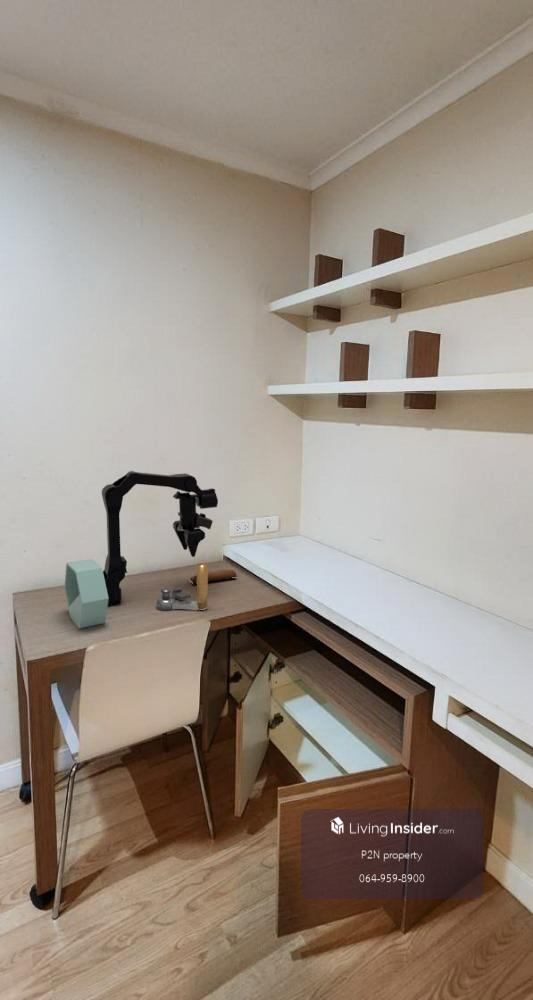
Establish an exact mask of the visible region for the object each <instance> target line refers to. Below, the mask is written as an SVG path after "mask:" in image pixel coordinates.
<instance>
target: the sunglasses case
mask: <svg viewBox="0 0 533 1000" xmlns="http://www.w3.org/2000/svg"><path fill="white" fill-rule="evenodd" d="M237 576H238V575H237V572H236V571H235V570H233V569H227V568H225V569H216V570H213V571H209V570H208V583H210V582H209V581H212V582H216V581H215V580H219V581H222V580H221V579H226V580H228V579H227V578H232V577H237ZM189 578H190V577H189ZM190 580H191V581H192V582H193V584H197V574H195V575H193V576H191V578H190Z"/></svg>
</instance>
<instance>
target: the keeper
mask: <svg viewBox="0 0 533 1000" xmlns="http://www.w3.org/2000/svg"><path fill="white" fill-rule="evenodd" d="M171 596H173V597H175V600H183V601H184V600H187V599H191V598H192V594H191V593H189V592H188V591H187V590H184V589H182V588H181V587H178V586H177V587H172V588H171Z"/></svg>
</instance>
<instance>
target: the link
mask: <svg viewBox="0 0 533 1000" xmlns="http://www.w3.org/2000/svg"><path fill="white" fill-rule="evenodd" d="M208 567H209V564H208V563H204V562H203V563H197V565H196V575H197V585H196V600H184V599H183V600H175V597H173V596H172V595H170V599H168V600H163V599H162V595H161V596H158V597H157V598H156V609H157V610H160V611H163V610H167V611H172V610H174V609H198V608H199V609H204V608H206V607H207V608H208V599H209V598H208V593H209V592H208V591H209V590H208V585H209V584H208V583H209V582H208V572H209V570H208V569H209V568H208ZM171 609H172V610H171Z"/></svg>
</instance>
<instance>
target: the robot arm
mask: <svg viewBox="0 0 533 1000" xmlns="http://www.w3.org/2000/svg"><path fill="white" fill-rule="evenodd" d="M136 485H144V486H154V487H155V486H156V487H167V488H172V489H174V490H177V491H176V492H175V494H173V495H172V498H174V499H176V500H178V502H179V511H178V512H177V516H179V520H175V521H174V522H173V523H172V529H173V530H174V532H175V534H176V537H177V538H178V540H179V543H180V544H181V546H182V548H183V550H184V551H186V550H188V551H189V553H190V555H191V557H192V558H193V557H195V556H196V554H197V550H198V547H199V545H200V542H201V541H204V539H206V532H205V531H204V530H202V529H201V528H200V527H202V528H205V529H207V530H211V528H212V525H213V521H214V520H212V519H211V518H208V517H206V514H205V513H202V512H200V513H198V512H197V507H198V508H199V509H201V510H203V509H212V508H217V507H218V503H219V498H218V496H217V493H216V489H215V488H213V487H212V488H208V489H207V488H206V489H201V488H200V486H199V485H198V481H197V478H196V477H195V476H193V475H191V474H189V473H174V474H169V475H167V474H160V473H159V474H158V473H148V472H136V471H135V470H134V471H133V470H130V471H128V472H127V473H126V474H125V475H123V476H121V477H120V478H118V479H116V480H115V481H114V482H113V483H110V484H109V483H108V484H106V485H105V486H104V487H103V488H102V489H101V497H102V502H103V505H104V509H105V512H106V535H107V539H106V540H107V556H106V557H105V564H104V569H103V574H104V579H105V584H106V588H107V593H108V598H109V600H108V606H107V607H110V606H111V607H112V606H117V605H121V604H122V602H121V601H122V588H121V587H120V584H121V582H122V581H123V580H124V579H125V578H126V574H127V573H128V571H127V564H128V562H127V559H126V558H125V556H122V555H121V528H120V523H121V522H120V520H121V519H120V514H121V510H122V505H123V498H124V496H126V495H127V494H128V493H129V492H130V491H131V490H132V489H133V488H134V486H136ZM178 490H179V491H178ZM180 491H182V492H180ZM190 493H194V494H190Z"/></svg>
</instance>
